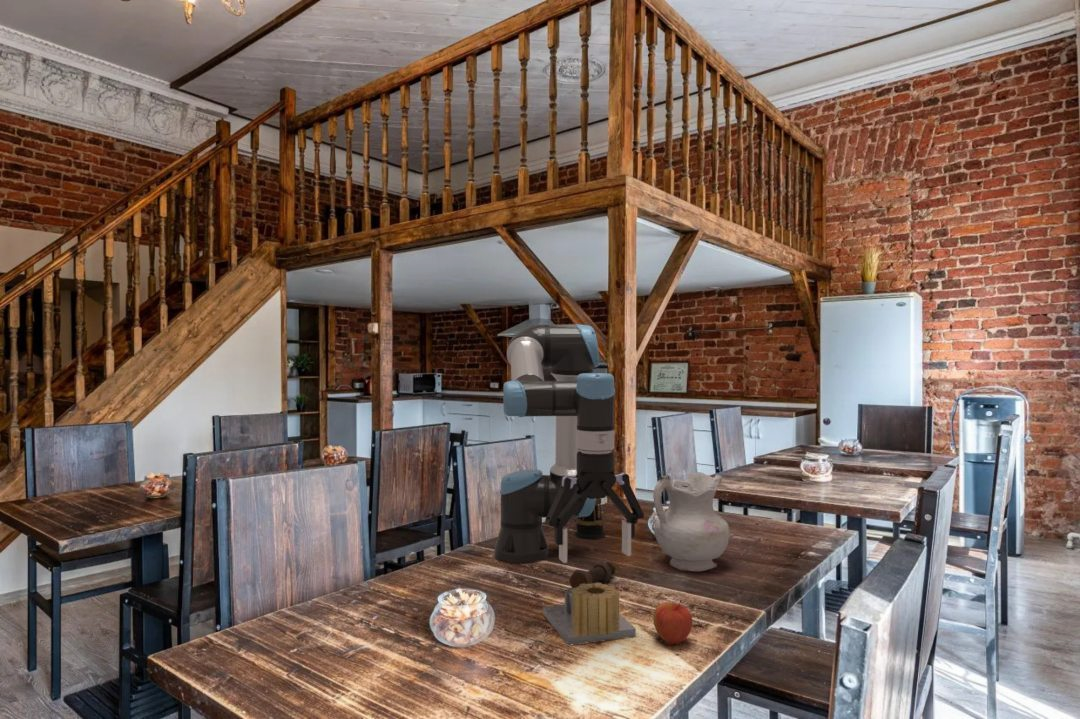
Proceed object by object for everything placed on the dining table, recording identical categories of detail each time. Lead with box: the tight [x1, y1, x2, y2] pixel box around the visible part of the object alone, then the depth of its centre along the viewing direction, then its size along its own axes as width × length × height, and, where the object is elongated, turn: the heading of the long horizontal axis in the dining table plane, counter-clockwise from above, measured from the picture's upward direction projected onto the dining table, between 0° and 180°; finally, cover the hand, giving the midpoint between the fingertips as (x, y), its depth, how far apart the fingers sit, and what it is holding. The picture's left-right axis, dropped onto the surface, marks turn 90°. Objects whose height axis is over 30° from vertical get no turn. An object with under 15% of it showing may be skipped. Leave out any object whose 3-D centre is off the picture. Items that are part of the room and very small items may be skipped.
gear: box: [572, 582, 620, 636], centre depth 124 cm, size 9×9×7 cm
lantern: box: [574, 498, 606, 541], centre depth 196 cm, size 9×9×30 cm
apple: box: [652, 599, 693, 645], centre depth 121 cm, size 7×7×8 cm
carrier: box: [542, 587, 637, 646], centre depth 128 cm, size 16×14×7 cm
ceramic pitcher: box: [652, 471, 730, 573], centre depth 167 cm, size 22×20×25 cm
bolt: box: [569, 561, 616, 589], centre depth 153 cm, size 6×5×15 cm
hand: (595, 557), depth 125 cm, fingers open, 13 cm apart
